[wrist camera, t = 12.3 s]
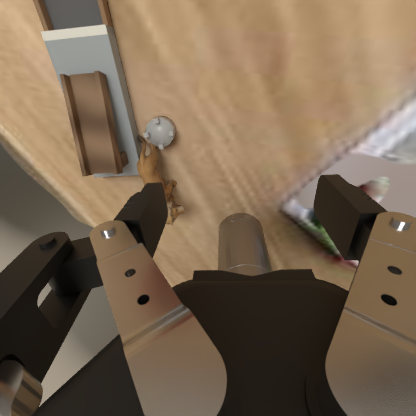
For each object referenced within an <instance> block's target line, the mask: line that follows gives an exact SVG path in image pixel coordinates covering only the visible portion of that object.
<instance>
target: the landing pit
mask: <svg viewBox="0 0 416 416" xmlns="http://www.w3.org/2000/svg"><path fill="white" fill-rule="evenodd" d="M33 1H34V4H35V7H36V9H37V12H38V15H39V18H40V20H41V23H42V26H43V29H44V31H51V30H60V29H69V28H78V27H87V26H95V25H104V24H106V25H108V26H110V27H113V25H112V20H111V16H110V12H109V8H108V3H107V0H33Z"/></svg>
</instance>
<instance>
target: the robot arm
mask: <svg viewBox="0 0 416 416" xmlns="http://www.w3.org/2000/svg"><path fill="white" fill-rule="evenodd" d="M314 212H315V215H316V217H317V218H318V220H319V221H320V223H321V224H322V226H323V227H324V229H325V230H326V232H327V233H328V235H329V237H330V238H331V240H332V241H333V243H334V244H335V246H336V247H337V249H338V250H339V252H340V253H341V255H342V257H343V258H344V260H358V261H359V264H358V267H357V269H356V272H355V275H354V277H353V280H352V283H351V285H350V288H349V291H347V290H345V289H343V288H341V287H339V286H337V285H335V284H332V283H329V282H326V281H323V280H319V279H316V278H315V276H314V274H313V272H312V269H299V270H278V271H272V267H271V263H270V259H269V255H268V251H267V247H266V243H265V239H264V235H263V231H262V227H261V224H260V222H259V221H258V220H257V219H256V218H254V217H253V216H250V215H247V214H235V215H232V216H230V217H228V218H226V219H225V220H224V221H223V222H222V223H221V225H220V228H219V247H218V270H202V271H194V274H193V280H188V281H185V282H183V283H180V284H178V285H176V286H174V287H172V288H171V286H170V285H169V283H168V282H167V280H166V279H165V277H164V275H163V274H162V272H161V271H160V269H159V268H158V266H157V265H156V263H155V262H154V260H153V259H152V258H153V256H154V253H155V250H156V248H157V245H158V242H159V240H160V237H161V235H162V232H163V229H164V227H165V224H166V221H167V218H168V207H167V202H166V197H165V192H164V187H163V184H162V183H161V182H156V183H147V184H146V185H145V186H144V188H143V189H142V191H141V192H137V193H136V194H134V195H133V196H132V197H130V199H129V200H128V201H127V204H125V205H124V207H123V208H122V209H121V211H120V212H119V213H118V215H117V216H116V218H115V219H114V220H113V221H108V222H104V223H102V224H100V225H98V226H96V227H95V228H94V229H93V230H92V231H91V232H90V235H89V237H87V238H83V239H78V240H74V241H71V240H70V238H69V236H68V235H67V234H66V233H65V232H54V233H50V234H47V235H44V236H42V237H40V238H38V239H36V240H35V241H33V242H32V243H31V244H30V245H29V246H28V247H27V248H26V249H25V250H24V251H23V252H22V253H21V254H20V255H18V256H17V257H16V258H15V259H14V260H13V261H12V262H11V263H10V264H9V265H8V266H7V267H6V268H5V269H4V270H3V271H2V272H1V273H0V416H416V218H414V217H412V216H409V215H406V214H403V213H397V212H388V211H386V210H385V209H384V208H383V207H382V206H380V205H379V204H378V203H377V202H376V201H375V200H372V198H371V197H370V196H369V195H366V193H365V192H364V191H363V190H362V189H360V188H358V187H356V186H354V185H352V184H349V183H348V182H347V181H345V180H344V179H343V178H342V177H341V176H340V175H338V174H335V175H321V176H320V178H319V180H318V185H317V190H316V195H315V200H314ZM47 283H49V285H50V286H51V288H52V290H51V291H50V293H49V294H48V295H47V297H46V298H45V300H44V301H43V302H42V304H41V305H40V306H39V308H38V305H37V300H38V296H39V294H40V292H41V290H42V289H43V288H44V287H45V286H46V284H47ZM103 285H104V287H105V290H106V293H107V297H108V299H109V303H110V305H111V309H112V312H113V315H114V318H115V321H116V324H117V327H118V330H119V333H120V334H119V335H117V336H116V337H115V338H114V339H113V340H112V341H111V342H110V343H109V344H108V345H107V346H105V347H104V348H103V349H102V350H101V351H100V352H99V353H98V354H97V355H96V356H94V357H93V358H92V359H91V360H90V361H89V362H88V363H87V364H86V365H85V366H84V367H82V368H81V369H80V370H79V371H78V372H77V373H76V374H75V375H74V376H72V377H71V378H70V379H69V380H68V381H67V382H66V383H65V384H64V385H63V386H61V388H59V389H58V390H57V391H56V392H55V393H54V394H53V395H52V396H51V397H49V399H47V400H46V401H45V402H44V403H43V404H42V405H41V406H40V407H39V405H40V403H41V399H42V394H43V389H42V385H41V383H42V381H43V379H44V377H45V375H46V373H47V371H48V370H49V368H50V366H51V364H52V362H53V360H54V358H55V356H56V355H57V353H58V351H59V349H60V347H61V345H62V343H63V342H64V340H65V337H66V336H67V334H68V332H69V330H70V328H71V327H72V325H73V323H74V321H75V319H76V317H77V315H78V313H79V312H80V310H81V308H82V306H83V304H84V302H85V300H86V299H87V297H88V295H89V293H90V291H91V289H92V288H95V287H99V286H103Z"/></svg>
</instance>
